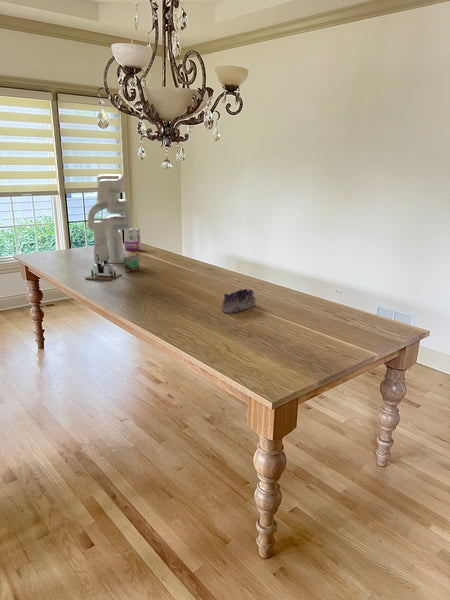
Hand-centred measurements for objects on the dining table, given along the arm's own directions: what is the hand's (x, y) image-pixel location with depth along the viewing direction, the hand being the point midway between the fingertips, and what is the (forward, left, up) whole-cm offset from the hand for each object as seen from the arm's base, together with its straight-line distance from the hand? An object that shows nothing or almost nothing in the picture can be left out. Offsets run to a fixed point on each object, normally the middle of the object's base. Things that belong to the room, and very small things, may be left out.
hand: (103, 271), depth 261 cm
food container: (-20, +10, -4) cm, 23 cm away
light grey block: (0, 0, -1) cm, 1 cm away
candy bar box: (-80, -22, -4) cm, 83 cm away
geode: (+28, +91, -4) cm, 95 cm away
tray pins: (0, 0, -3) cm, 3 cm away
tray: (0, 0, -4) cm, 4 cm away
